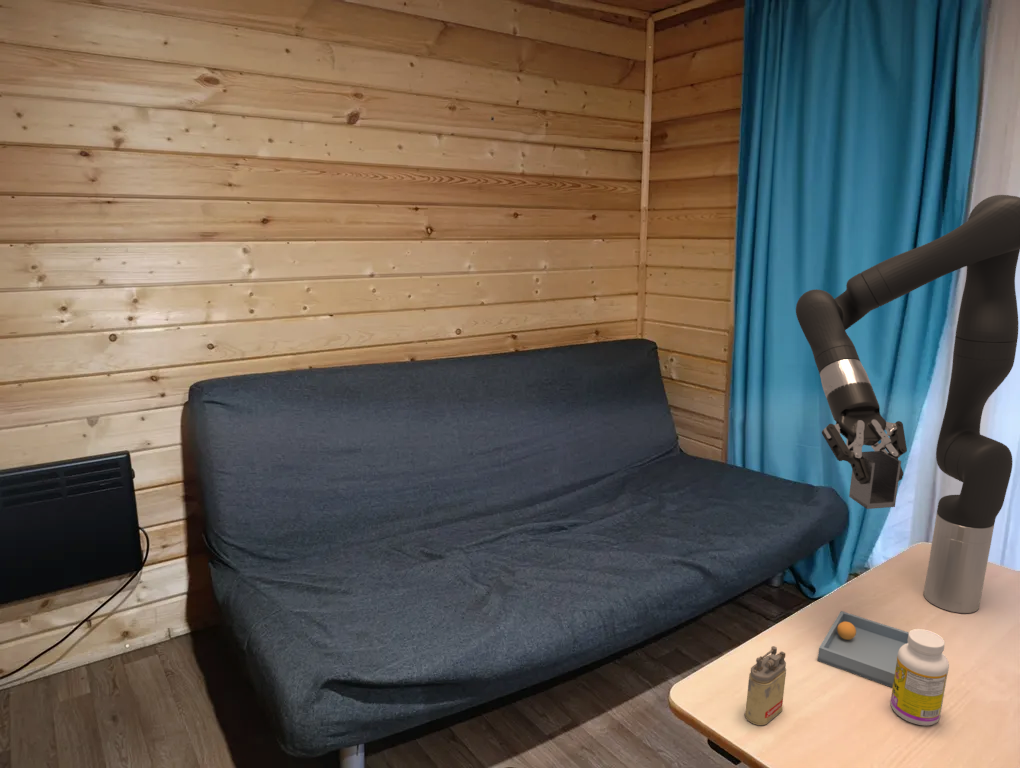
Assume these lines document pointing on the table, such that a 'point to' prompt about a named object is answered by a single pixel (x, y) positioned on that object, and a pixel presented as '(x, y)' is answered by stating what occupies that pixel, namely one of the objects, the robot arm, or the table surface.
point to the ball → (846, 630)
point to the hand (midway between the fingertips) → (881, 481)
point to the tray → (864, 649)
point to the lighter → (766, 688)
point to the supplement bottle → (920, 678)
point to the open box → (877, 481)
